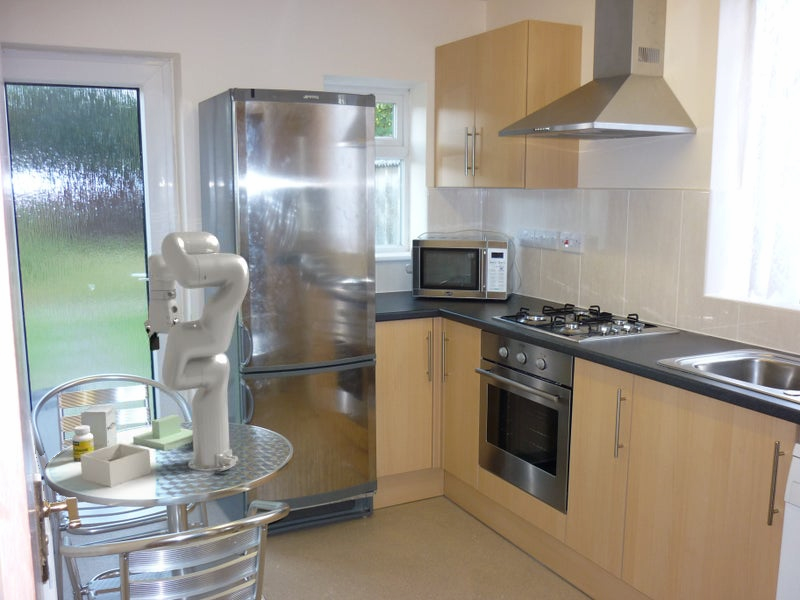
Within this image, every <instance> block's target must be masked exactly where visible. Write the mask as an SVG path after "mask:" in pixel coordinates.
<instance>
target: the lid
mask: <svg viewBox="0 0 800 600" xmlns="http://www.w3.org/2000/svg"><path fill="white" fill-rule="evenodd" d="M151 429H152V430H151V431H148V432H144V433H142V434H138V435H134V436H133V438H132V440H133V441H132V442H133V444H135V445H139V446H142V447H148V448H150V449H155V450H157V451H158V450H159V451H162V452H167V451H168V452H169V451H170V450H174V449H177V448H179V447H182V445H183V446H186V445H189V444H191V443H190V442H192V443H193V430H192V429H188V428H183V427H182V419H181V415H178V414H170V415H167V416H163V417H160V418H157V419H153V420H151ZM188 443H189V444H188ZM185 444H186V445H185Z"/></svg>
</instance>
